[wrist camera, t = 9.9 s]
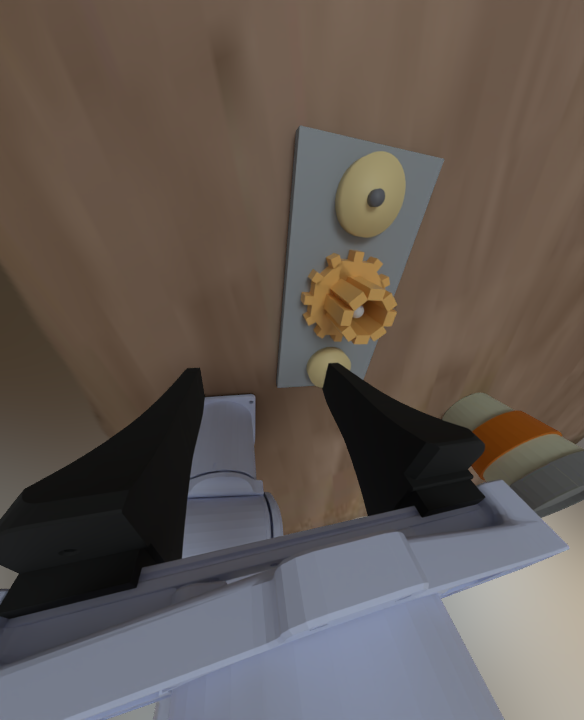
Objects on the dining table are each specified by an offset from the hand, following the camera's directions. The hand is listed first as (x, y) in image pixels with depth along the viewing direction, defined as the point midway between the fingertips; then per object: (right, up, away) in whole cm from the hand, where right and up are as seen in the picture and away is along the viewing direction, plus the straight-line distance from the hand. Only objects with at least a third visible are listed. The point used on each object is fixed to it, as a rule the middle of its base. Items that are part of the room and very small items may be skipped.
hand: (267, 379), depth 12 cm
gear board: (+6, +7, +9) cm, 13 cm away
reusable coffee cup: (+33, -8, +27) cm, 43 cm away
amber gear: (+6, +7, +8) cm, 12 cm away
